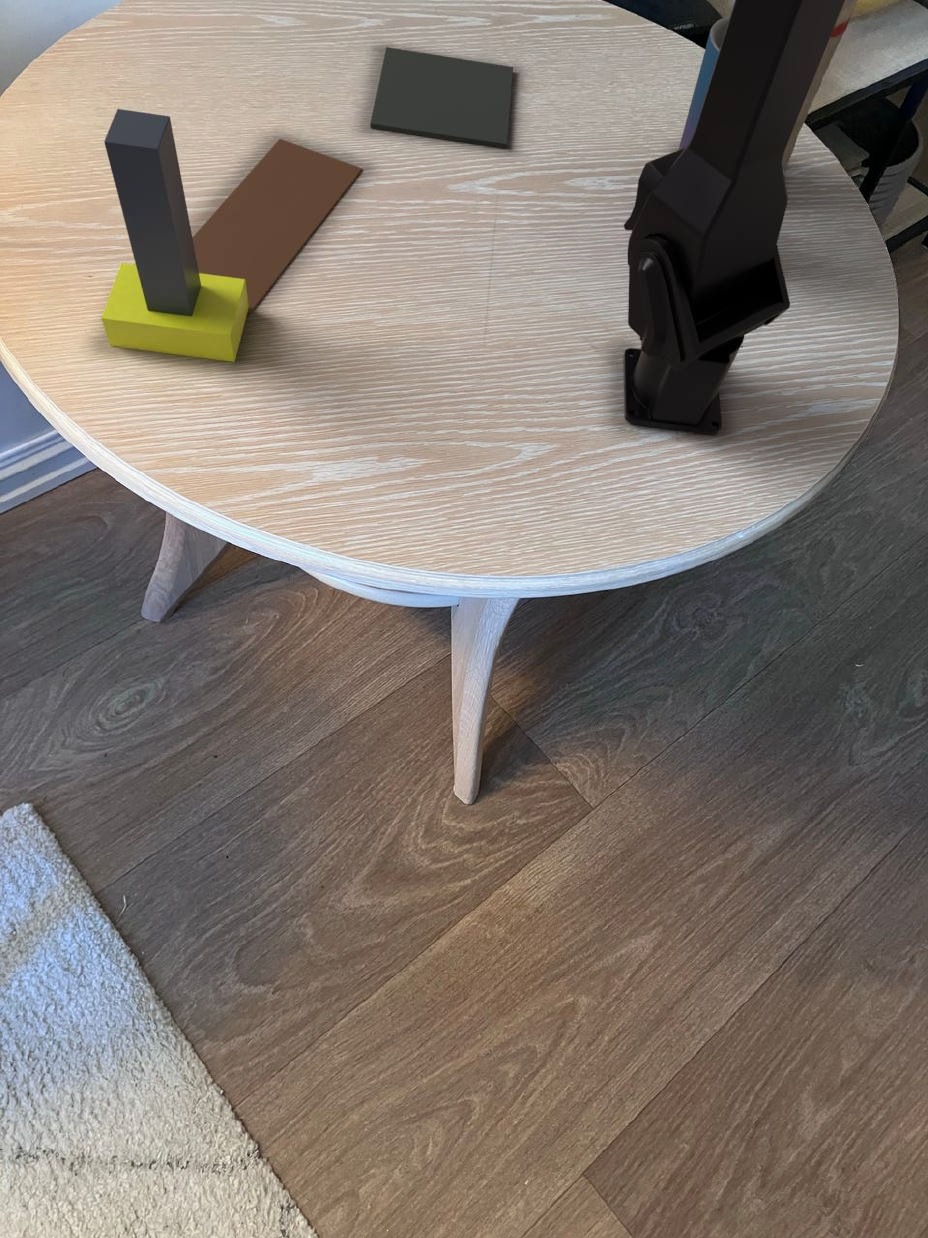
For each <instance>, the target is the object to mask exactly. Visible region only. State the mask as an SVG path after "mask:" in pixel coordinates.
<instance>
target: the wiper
mask: <svg viewBox="0 0 928 1238" xmlns="http://www.w3.org/2000/svg"><path fill="white" fill-rule="evenodd" d="M103 142H104V147H105V151H106V154H107V158H108V162H109V166H110V170H111V174H112V177H113V181H114V185H115V190H116V194H117V197H118V201H119V204H120V208H121V213H122V216H123V219H124V223H125V227H126V232H127V236H128V240H129V243H130V246H131V251H132V255H133V259H134V263H135V264H134V263H127V262H120V265H119V268H118V271H117V274H116V276H115V278H114V279H115V280H114V281H113V284H112V287H111V290H110V293H109V295H108V298H107V301H106V304H105V306H104V310H103V312H102V315H101V322H102V326H103V328H104V331H105V334H106V338H107V340H108V344H109V346H110V347H119V348H125V349H133V350H140V351H148V352H155V353H164V354H171V355H179V356H186V357H193V358H200V359H201V358H202V359H208V360H216V361H224V362H231V363H235V362H236V358H237V354H238V351H239V346H240V343H241V340H242V335H243V332H244V328H245V324H246V321H247V320H246V319H247V316H248V315H247V312H248V308H249V304H248V297H247V289H246V282H245V279H239V278H231V277H224V276H216V275H209V274H202V273H199V271H198V265H197V260H196V254H195V249H194V244H193V238H192V237H193V233H192V229H191V223H190V218H189V217H190V216H189V212H188V211H189V210H188V207H187V201H186V196H185V190H184V185H183V180H182V173H181V168H180V162H179V158H178V153H177V146H176V143H175V142H176V141H175V136H174V132H173V126H172V121H171V117H170V115H163V114H156V113H149V112H142V111H137V110H136V111H135V110H128V109H121V108H117V109H116V112H115V114H114V116H113V120H112V121H111V123H110V126H109V128H108V131H107V133H106V136H105V138H104V141H103Z"/></svg>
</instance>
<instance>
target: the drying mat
mask: <svg viewBox="0 0 928 1238" xmlns="http://www.w3.org/2000/svg"><path fill="white" fill-rule="evenodd" d="M513 73H514V66H508V65H502V64H496V63H489V62H483V61H477V60H472V59H471V60H470V59H465V58H459V57H458V58H457V57H451V56H445V55H438V54H432V53H427V52H420V51H413V50H407V49H401V48H394V47H388V46H386V47H385V51H384V56H383V60H382V66H381V69H380V75H379V79H378V84H377V90H376V95H375V100H374V104H373V108H372V109H373V111H372V114H371V119H370V122H369V123H370V126H369V127H370V129H376V130H382V131H389V132H395V133H401V134H409V135H415V136H421V137H429V138H435V139H442V140H448V141H455V142H460V143H468V144H475V145H481V146H486V147H487V146H488V147H494V148H501V149H507V147H508V138H509V124H510V113H511V112H510V111H511V99H512V88H513V76H514V75H513Z"/></svg>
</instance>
